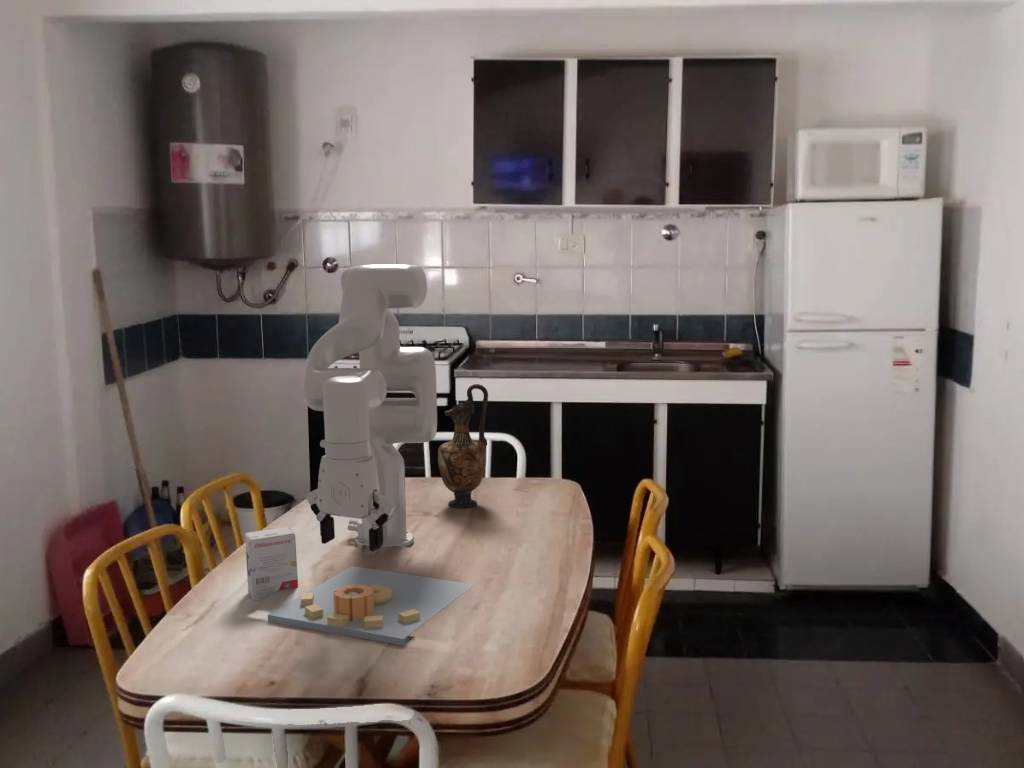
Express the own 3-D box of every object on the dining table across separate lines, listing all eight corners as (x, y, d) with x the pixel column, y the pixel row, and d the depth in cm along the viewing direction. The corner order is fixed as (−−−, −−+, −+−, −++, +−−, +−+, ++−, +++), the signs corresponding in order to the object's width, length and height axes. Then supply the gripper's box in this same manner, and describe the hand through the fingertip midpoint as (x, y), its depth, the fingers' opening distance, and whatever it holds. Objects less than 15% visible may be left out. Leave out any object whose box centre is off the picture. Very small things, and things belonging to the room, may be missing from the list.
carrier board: (267, 621, 175) (266, 595, 174) (352, 571, 199) (351, 549, 198) (403, 645, 164) (402, 618, 163) (474, 590, 188) (474, 566, 188)
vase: (444, 497, 252) (442, 380, 248) (493, 499, 251) (491, 380, 246) (434, 510, 241) (431, 387, 236) (485, 512, 239) (483, 388, 234)
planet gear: (327, 617, 173) (326, 595, 172) (348, 603, 179) (347, 582, 178) (360, 622, 170) (360, 600, 170) (380, 609, 176) (379, 587, 176)
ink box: (292, 585, 192) (290, 525, 190) (299, 593, 188) (296, 532, 186) (246, 592, 188) (243, 532, 186) (252, 601, 184) (249, 539, 182)
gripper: (292, 449, 170) (297, 545, 174) (380, 459, 163) (384, 559, 167) (317, 439, 177) (322, 531, 180) (403, 448, 170) (406, 544, 174)
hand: (351, 544), depth 174 cm, fingers open, 9 cm apart
